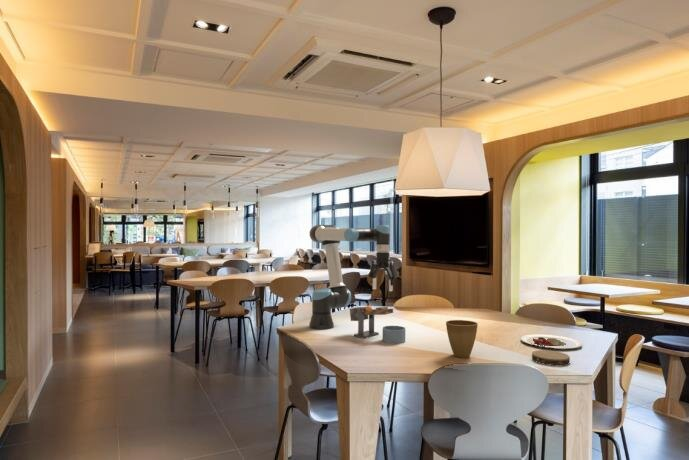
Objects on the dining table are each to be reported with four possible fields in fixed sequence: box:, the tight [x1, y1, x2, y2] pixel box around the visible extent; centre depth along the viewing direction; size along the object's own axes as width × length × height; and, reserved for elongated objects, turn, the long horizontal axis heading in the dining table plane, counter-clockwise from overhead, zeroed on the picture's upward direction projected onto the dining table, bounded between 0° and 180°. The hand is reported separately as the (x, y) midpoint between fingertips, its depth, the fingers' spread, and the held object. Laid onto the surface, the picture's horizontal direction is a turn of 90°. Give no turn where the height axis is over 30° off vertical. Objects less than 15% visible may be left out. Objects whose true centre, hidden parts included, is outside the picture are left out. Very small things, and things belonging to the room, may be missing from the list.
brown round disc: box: [531, 349, 571, 366], centre depth 211 cm, size 16×16×3 cm
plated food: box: [520, 333, 583, 350], centre depth 244 cm, size 30×30×3 cm
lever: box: [349, 305, 394, 322], centre depth 260 cm, size 25×14×7 cm, turn 50°
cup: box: [382, 325, 406, 345], centre depth 247 cm, size 12×12×7 cm
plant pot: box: [445, 319, 479, 359], centre depth 219 cm, size 15×15×16 cm
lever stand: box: [353, 313, 380, 339], centre depth 260 cm, size 8×13×14 cm, turn 140°
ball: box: [365, 305, 373, 311], centre depth 259 cm, size 4×4×4 cm
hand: (382, 290), depth 261 cm, fingers open, 11 cm apart
